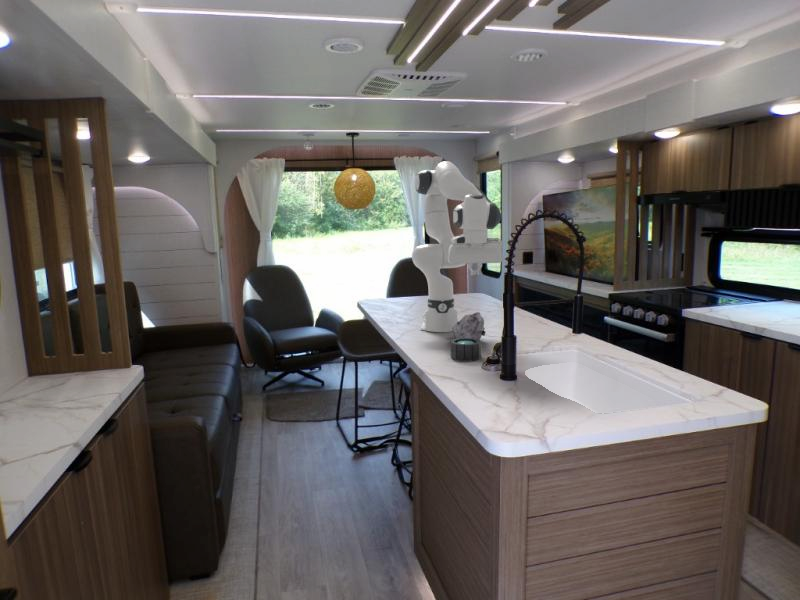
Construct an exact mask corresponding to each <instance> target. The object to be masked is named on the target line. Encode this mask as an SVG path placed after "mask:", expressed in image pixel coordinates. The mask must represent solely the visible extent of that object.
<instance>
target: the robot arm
mask: <svg viewBox="0 0 800 600" xmlns="http://www.w3.org/2000/svg"><path fill="white" fill-rule="evenodd" d="M414 187H415V190H416V192H417V193H418V194H420V195H422V196H425V195H426V196H425V197H424V205H423V207H424V208H423V216H424V225H425V232H426V234H427V235H428V237H430V238H432V239H433V240H436V241H437V242H438V243H425V244H421V245H417V246H416V247H414V248H413V251H412V254H411V261H412V262H413V265H414V266H415V267H416V268H418V269H419V270H420V271H421V272H422V273H423V275H424V276H425V278H426V281H427V287H428V298H427V309H426V310H425V312H424V313H423V314H422V319H423V323H422V325H421V326H420V330H421V331H427V332H433V333H450V332H451V333H452V327H453V326H454V325H455V324H456V323H457V322H459V320H458V319H459V318H458V317H459V316H458V310H456V308H455V298H454V283H453V280H452V279H451V278H449V277H448V276H446V275H444V274H442V273H441V269H455V268H460V267H464V266H466V265H467V267H468V269H469V270H470V276H472V277H473V276H477V277H478V276H480V270H482V267H483V264H501V263H502V262H503V248H504V247H503V246H504V245H503V243H504V242H503V240H502V239H500V238H499V237H495V238H493V237H490V238H489V237H488V230H494V229H495V228H496V227H497V226H498V225H499V224H500V222H501V219H502V214H501V210H500V208H499V207H498V206H497V204H496V203H494V202H493V201H491V200H490V199H489V198H488V197H487V195H486V194H485V193H484V192H483V191H482V189H480V188H479V186H478V185H476V184H474V182H471V181H470V180H468V179H467V178H466V177H465V176H463V174H462V173H461V171H460V169H459V168H458V167H457V166H456V165H455V164H454V163H453V162H451V161H448V160H445V161H442V162H440V163H438V164H437V166H436V167H435V169H434V170H432V169H431V170H429V169H424V170H421V171H419V172H418V173H416V175H415V178H414ZM448 199H449V200H452V201H462V202H461V203H460V204H457V205H456V206H455V207H454V208H453V210H452V224H453V225H454V226H455V227H456V228H458V229H461V230H462V234H458V235H454V233H453V231H452V229H451V223H450V216H449V208H448V207H449V206H448ZM473 264H477V268H476V270H474V269H473V268H472V267H473Z"/></svg>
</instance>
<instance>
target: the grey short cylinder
mask: <svg viewBox="0 0 800 600" xmlns="http://www.w3.org/2000/svg"><path fill="white" fill-rule="evenodd" d="M459 341H472V342H474V343H472V344H460V343H457V342H459ZM449 343H450V344H449V345H450V346H449V348H450V349H449V353H450V354H449V355H450V359H452V360H453V361H458V362H474V361H475V362H476V361H479V360H481V358H482V341H481V339H480V340H478V339H474V338H457V339H453V338H452V339H451V340H450V341H449Z"/></svg>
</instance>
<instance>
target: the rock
mask: <svg viewBox="0 0 800 600" xmlns="http://www.w3.org/2000/svg"><path fill="white" fill-rule="evenodd" d="M484 326H485V319H484V317H483V316H482V315H481V313H480V312H479V311H477V312H474V313H472V314H471V313H470V314H466V315H464V316H462V318H460V320H458V322H457V323H456V324H455V325H454V326H453V327H452V331H451V333H453V337H452V340H453V339H457V338H474V339H478V340H480V341H481V339H482V336H483V337H485V336H486V333H487V332H486V331H485V329H486V327H484Z"/></svg>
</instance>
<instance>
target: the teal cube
mask: <svg viewBox="0 0 800 600" xmlns="http://www.w3.org/2000/svg"><path fill="white" fill-rule="evenodd" d="M457 343H460V344H472V343H474V342H472V341H459V342H457Z"/></svg>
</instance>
